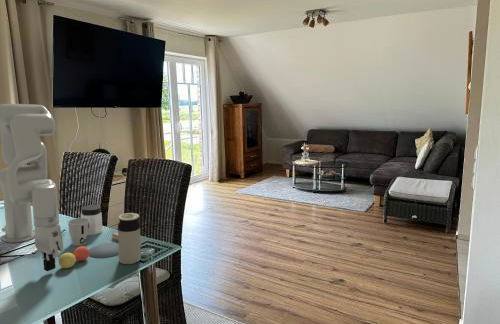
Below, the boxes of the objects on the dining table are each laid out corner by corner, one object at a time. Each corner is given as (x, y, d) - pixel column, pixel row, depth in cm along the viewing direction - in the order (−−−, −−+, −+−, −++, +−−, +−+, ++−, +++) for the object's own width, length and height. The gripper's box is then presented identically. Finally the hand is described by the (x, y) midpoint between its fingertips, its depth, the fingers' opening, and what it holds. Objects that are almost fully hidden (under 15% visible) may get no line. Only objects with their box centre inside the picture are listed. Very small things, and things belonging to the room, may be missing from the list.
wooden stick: (137, 247, 145) (137, 242, 145) (112, 238, 153) (112, 233, 153) (141, 246, 147) (140, 240, 146) (116, 237, 155) (116, 232, 154)
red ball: (68, 259, 130) (72, 244, 130) (78, 258, 135) (82, 244, 136) (80, 263, 128) (84, 248, 129) (90, 262, 133) (94, 247, 134)
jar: (79, 236, 155) (78, 210, 153) (83, 229, 163) (82, 205, 161) (100, 235, 157) (99, 209, 155) (103, 228, 165) (103, 204, 163)
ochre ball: (71, 247, 128) (76, 259, 131) (55, 254, 126) (60, 265, 128) (73, 254, 124) (78, 266, 126) (57, 261, 121) (62, 273, 124)
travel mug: (120, 266, 129) (118, 220, 126) (118, 257, 136) (116, 213, 133) (142, 262, 132) (141, 218, 129) (139, 254, 139) (138, 211, 136)
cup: (81, 248, 143) (80, 225, 141) (64, 245, 144) (63, 223, 142) (94, 240, 150) (93, 218, 149) (78, 238, 152) (76, 217, 150)
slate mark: (102, 261, 132) (102, 260, 132) (80, 252, 139) (80, 251, 139) (131, 248, 144) (131, 248, 144) (110, 240, 151) (110, 240, 151)
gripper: (69, 221, 118) (72, 271, 121) (45, 212, 125) (48, 259, 129) (47, 227, 112) (51, 280, 115) (23, 218, 119) (27, 267, 122)
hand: (49, 269), depth 122 cm, fingers closed
